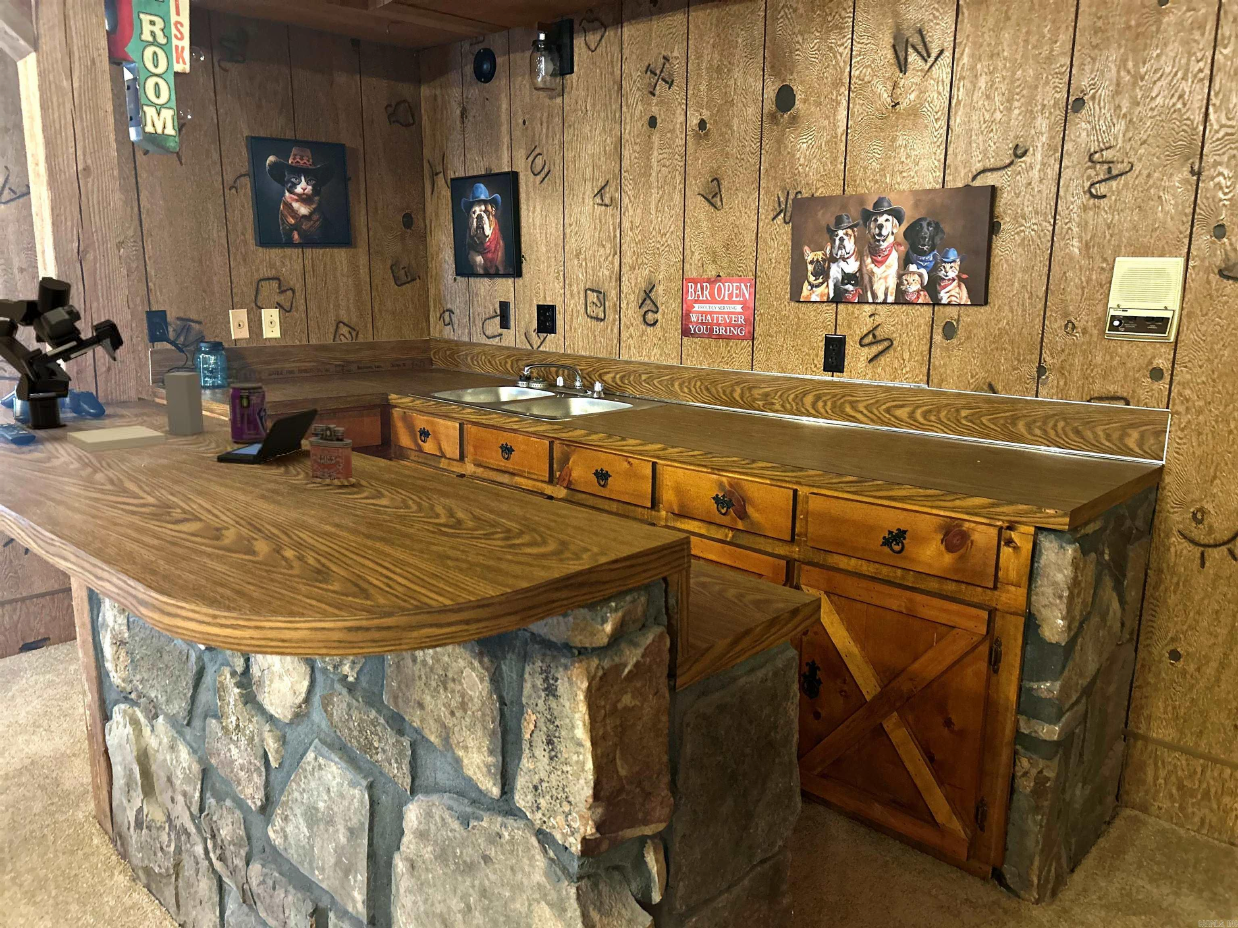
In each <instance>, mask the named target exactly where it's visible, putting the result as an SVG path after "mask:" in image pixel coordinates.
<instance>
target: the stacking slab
mask: <svg viewBox="0 0 1238 928" xmlns="http://www.w3.org/2000/svg"><path fill="white" fill-rule="evenodd" d="M66 438H67V443H68V444H70V445H73V446H75V447H77V448H79V449H80V450H84V451H85V452H88V453H90V454H91V453H97V452H98V453H99V452H108V451H116V450H124V449H132V448H141V447H142V448H143V447H151V446H159V445H166V444H167V443H166V440H167V439H166V434H165V433H162V432H159V431H156V430H153V429H150V428H148V427H145V426H142V425H133V426H123V427H113V428H112V427H111V428H103V429H102V428H101V429H93V430H90V429H89V430H83V431H72V432H66Z"/></svg>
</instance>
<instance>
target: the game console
mask: <svg viewBox="0 0 1238 928" xmlns="http://www.w3.org/2000/svg"><path fill="white" fill-rule="evenodd" d="M318 412H319V410H318V409H317V408H313V409H309V410H305V411H302V412H298V413H295V414H292V415H289V416H285V417H282V418H278V419H277V420H275V421H274V422H273V423H272V425H271V426H270V428H269V429H268V433H267V435H266V437H265V439H264V440H263V441H261V442H257V443H249V444H247V445H245V446H244V445H243V446H242V447H238V448H236V449H235V448H234V449H232V450H229V451H225V452H223V453H221V454H218V455H216V461H217V462H218V463H225V462H228V464H240V463H247V464H246V465H254V464H259V465H261V464H260V463H262V462H265V461H267V460H270V461H272V460H271V459H273V458H275V457H276V456H277V455H282V454H287V453H290V452H292V451H295V450H299V449H301V450H302V448H303V446H302V445H303V444H302V441H303V440H304V438H305V436H306V434H307V433H308V431H309V429H310V427H312V424H313V422H314V420H315V419H316V417H317V415H318ZM299 451H300V450H299ZM290 454H291V453H290ZM287 455H288V454H287ZM273 460H274V459H273ZM237 462H239V463H237ZM267 462H268V461H267ZM265 463H266V462H265ZM262 464H263V463H262Z"/></svg>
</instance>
